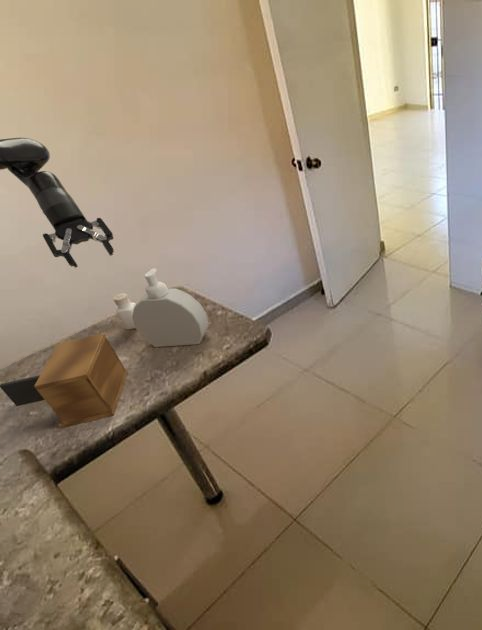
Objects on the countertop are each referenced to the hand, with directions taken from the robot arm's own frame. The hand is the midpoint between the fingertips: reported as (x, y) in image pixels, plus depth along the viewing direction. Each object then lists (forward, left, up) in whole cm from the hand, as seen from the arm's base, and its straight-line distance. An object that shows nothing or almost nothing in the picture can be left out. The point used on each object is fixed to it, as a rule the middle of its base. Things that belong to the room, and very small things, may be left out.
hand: (94, 260), depth 117 cm
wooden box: (+2, -38, -16) cm, 42 cm away
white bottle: (+5, -10, -17) cm, 20 cm away
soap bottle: (+18, -22, -17) cm, 33 cm away
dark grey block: (-7, -40, -15) cm, 44 cm away
